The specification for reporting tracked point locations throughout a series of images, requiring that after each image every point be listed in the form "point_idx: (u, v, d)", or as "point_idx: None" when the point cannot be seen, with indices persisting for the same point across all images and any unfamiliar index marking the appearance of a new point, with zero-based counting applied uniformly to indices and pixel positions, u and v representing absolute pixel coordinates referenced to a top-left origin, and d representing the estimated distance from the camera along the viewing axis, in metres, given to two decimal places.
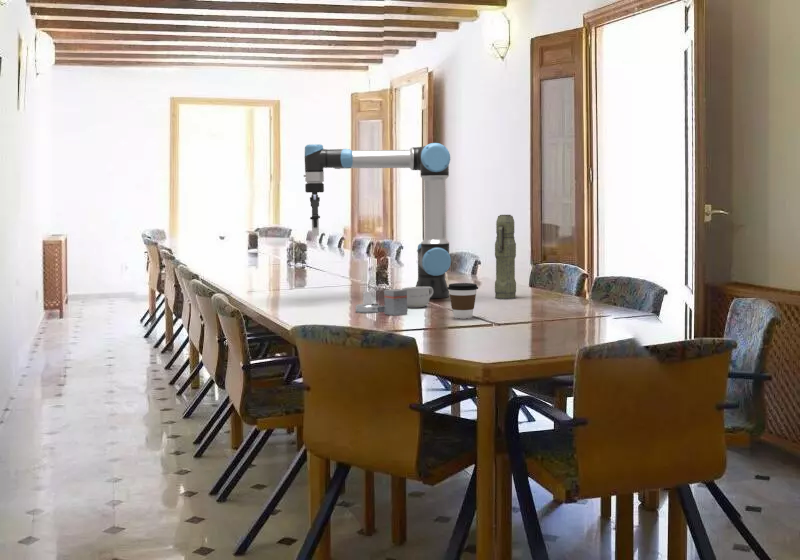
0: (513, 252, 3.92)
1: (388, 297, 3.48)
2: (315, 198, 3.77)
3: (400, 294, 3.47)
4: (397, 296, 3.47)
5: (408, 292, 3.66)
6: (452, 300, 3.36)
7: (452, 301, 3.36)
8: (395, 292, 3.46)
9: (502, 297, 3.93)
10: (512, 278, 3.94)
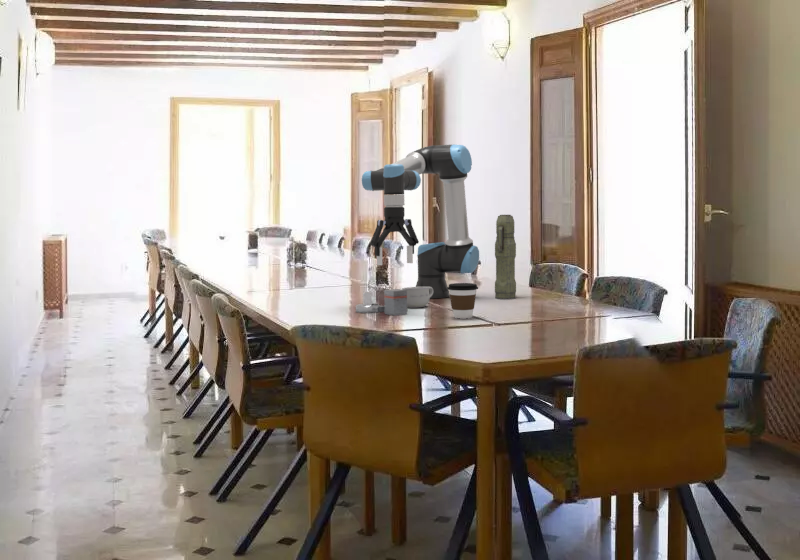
0: (513, 252, 3.92)
1: (388, 297, 3.48)
2: (379, 224, 3.43)
3: (400, 294, 3.47)
4: (397, 296, 3.47)
5: (408, 292, 3.66)
6: (452, 300, 3.36)
7: (452, 301, 3.36)
8: (395, 292, 3.46)
9: (502, 297, 3.93)
10: (512, 278, 3.94)
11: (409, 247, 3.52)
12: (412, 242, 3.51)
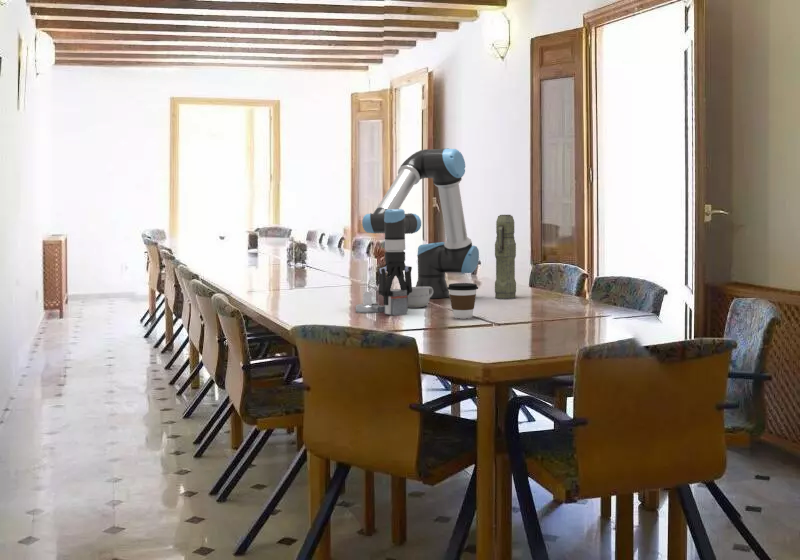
0: (513, 252, 3.92)
1: None
2: (381, 273, 3.45)
3: (400, 294, 3.47)
4: (397, 296, 3.47)
5: None
6: (452, 300, 3.36)
7: (452, 301, 3.36)
8: (395, 292, 3.46)
9: (502, 297, 3.93)
10: (512, 278, 3.94)
11: None
12: None
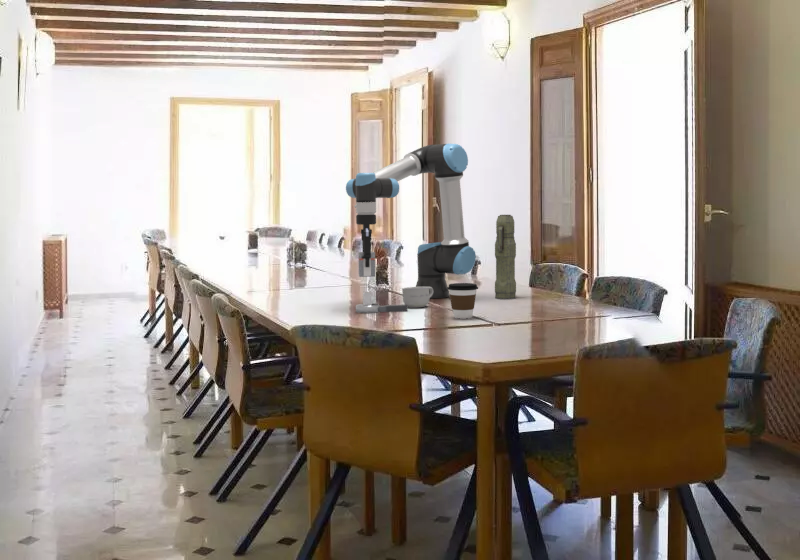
0: (513, 252, 3.92)
1: None
2: (368, 235, 3.49)
3: None
4: None
5: (408, 292, 3.66)
6: (452, 300, 3.36)
7: (452, 301, 3.36)
8: (374, 253, 3.55)
9: (502, 297, 3.93)
10: (512, 278, 3.94)
11: None
12: None
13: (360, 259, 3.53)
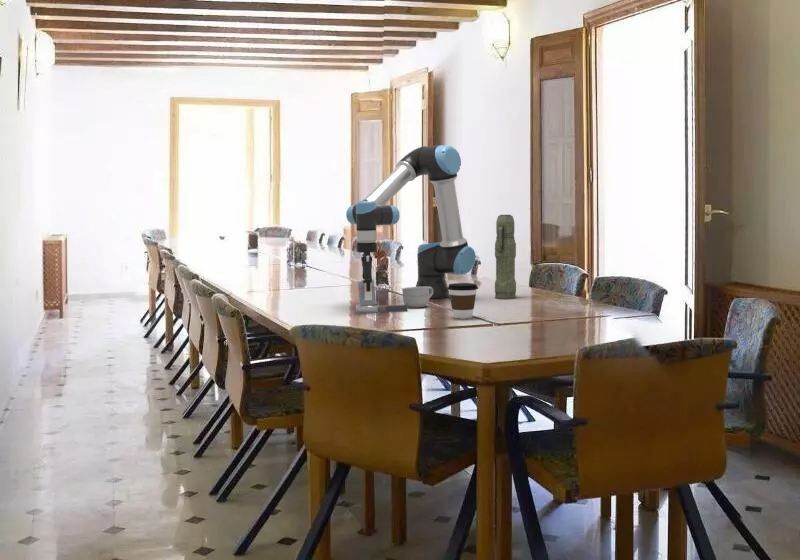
0: (513, 252, 3.92)
1: None
2: (368, 260, 3.50)
3: None
4: None
5: (408, 292, 3.66)
6: (452, 300, 3.36)
7: (452, 301, 3.36)
8: (373, 282, 3.56)
9: (502, 297, 3.93)
10: (512, 278, 3.94)
11: None
12: None
13: (359, 288, 3.54)
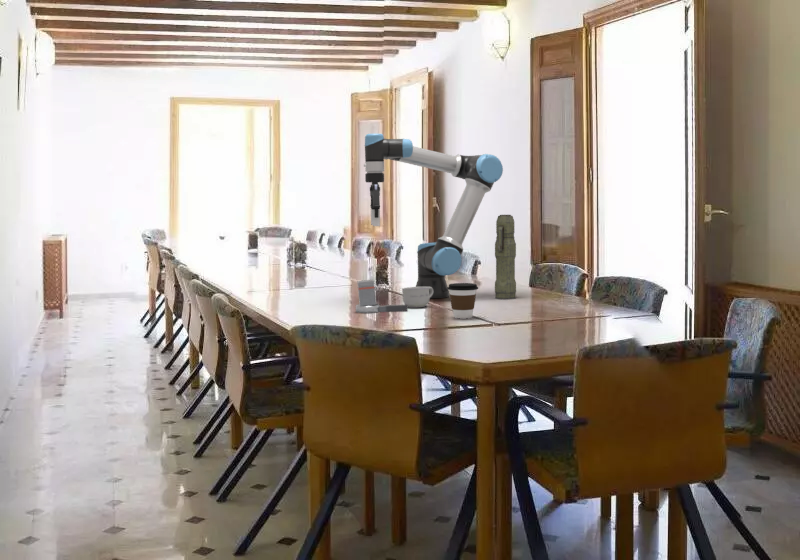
0: (513, 252, 3.92)
1: (365, 288, 3.55)
2: (376, 188, 3.73)
3: None
4: None
5: (408, 292, 3.66)
6: (452, 300, 3.36)
7: (452, 301, 3.36)
8: (373, 282, 3.56)
9: (502, 297, 3.93)
10: (512, 278, 3.94)
11: None
12: None
13: (359, 288, 3.54)
